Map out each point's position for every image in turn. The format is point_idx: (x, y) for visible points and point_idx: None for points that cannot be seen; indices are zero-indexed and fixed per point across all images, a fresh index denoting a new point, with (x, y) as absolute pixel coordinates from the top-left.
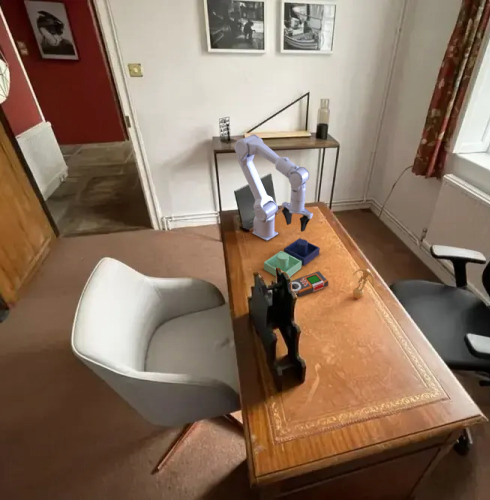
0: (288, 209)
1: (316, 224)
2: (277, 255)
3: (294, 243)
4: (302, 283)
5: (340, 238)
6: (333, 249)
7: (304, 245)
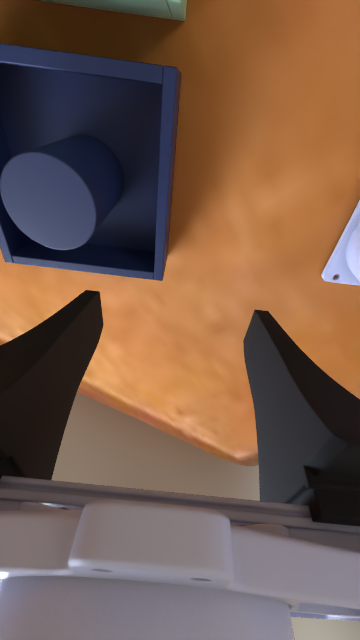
0: (302, 546)
1: (189, 399)
2: None
3: (157, 213)
4: None
5: None
6: (22, 309)
7: (3, 173)
